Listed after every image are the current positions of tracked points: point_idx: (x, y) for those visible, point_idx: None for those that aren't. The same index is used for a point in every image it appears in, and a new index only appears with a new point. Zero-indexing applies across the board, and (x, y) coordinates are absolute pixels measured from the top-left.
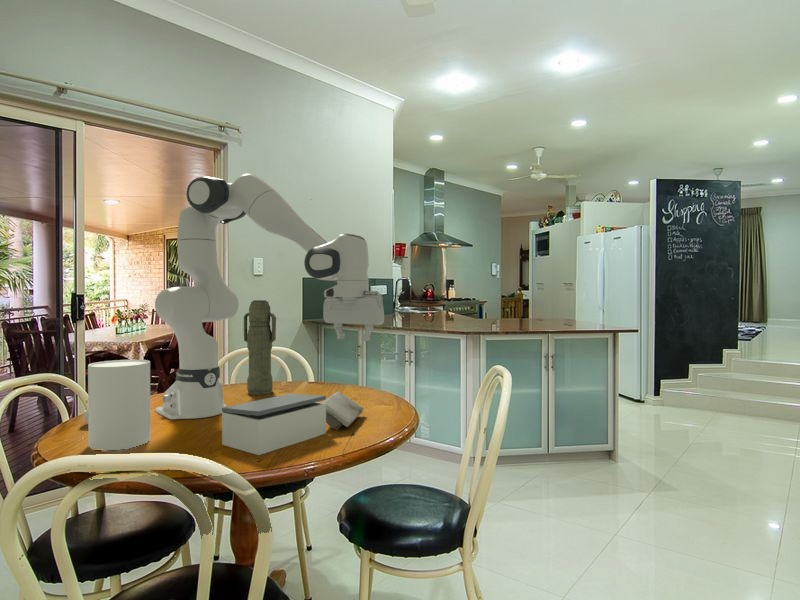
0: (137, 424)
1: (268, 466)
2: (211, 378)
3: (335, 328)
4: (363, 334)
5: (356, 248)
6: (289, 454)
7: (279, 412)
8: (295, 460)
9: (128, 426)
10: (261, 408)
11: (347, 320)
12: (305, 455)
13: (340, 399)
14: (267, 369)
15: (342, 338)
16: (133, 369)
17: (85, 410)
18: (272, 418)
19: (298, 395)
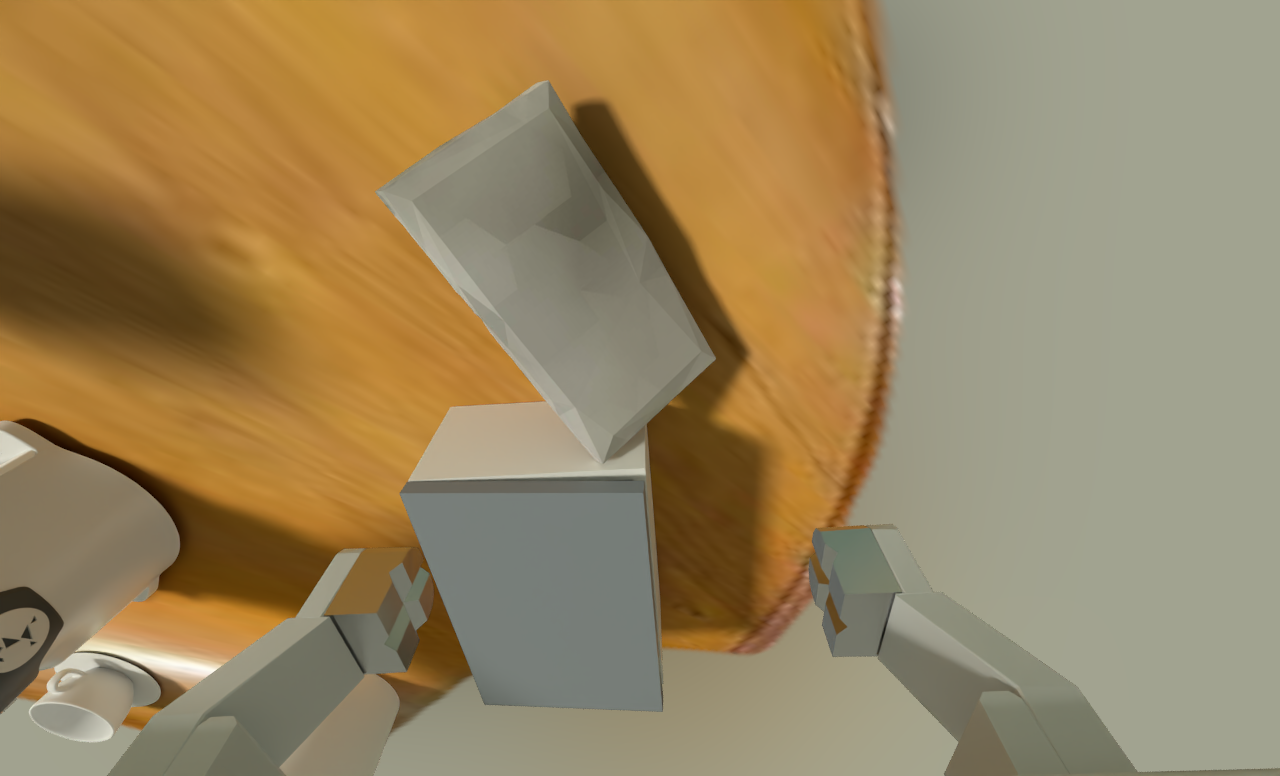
0: (371, 744)
1: (743, 618)
2: (9, 638)
3: (271, 757)
4: (840, 639)
5: None
6: (717, 560)
7: None
8: (765, 574)
9: (378, 754)
10: (627, 689)
11: None
12: (759, 545)
13: (520, 273)
14: None
15: (418, 575)
16: None
17: (68, 737)
18: (660, 649)
19: (498, 516)
